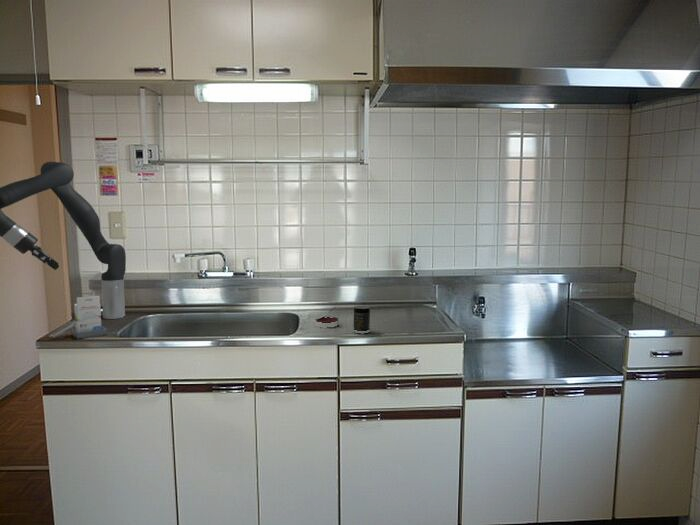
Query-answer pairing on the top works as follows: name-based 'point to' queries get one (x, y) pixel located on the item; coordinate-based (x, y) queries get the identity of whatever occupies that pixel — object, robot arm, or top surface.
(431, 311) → the top surface
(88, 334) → the tray
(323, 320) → the canned food
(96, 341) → the top surface
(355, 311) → the supplement container
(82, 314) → the ink box
